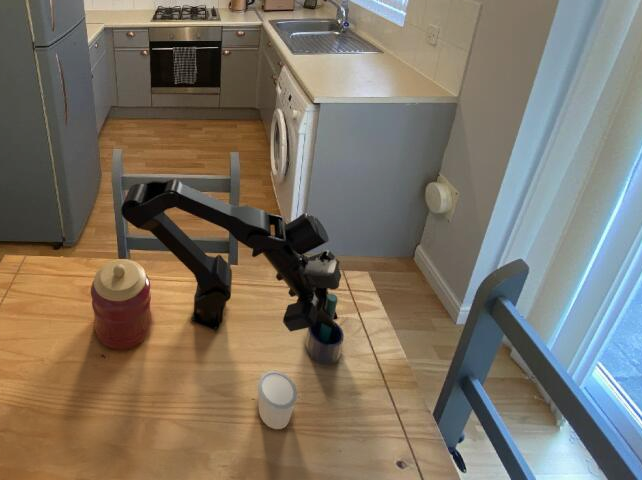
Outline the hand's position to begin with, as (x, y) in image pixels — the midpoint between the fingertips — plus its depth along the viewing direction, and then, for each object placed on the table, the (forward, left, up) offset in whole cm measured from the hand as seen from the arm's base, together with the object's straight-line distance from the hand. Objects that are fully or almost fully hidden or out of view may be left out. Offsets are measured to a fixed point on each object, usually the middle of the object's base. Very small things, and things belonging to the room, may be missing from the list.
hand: (334, 323), depth 86 cm
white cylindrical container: (-8, -17, -9) cm, 21 cm away
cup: (-1, 0, -9) cm, 9 cm away
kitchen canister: (-43, -12, -9) cm, 46 cm away
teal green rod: (-1, 0, -7) cm, 7 cm away
